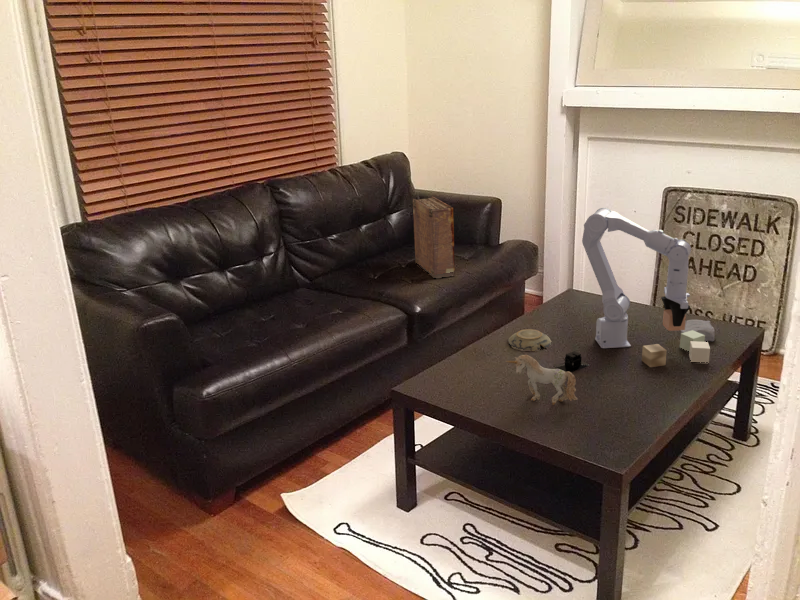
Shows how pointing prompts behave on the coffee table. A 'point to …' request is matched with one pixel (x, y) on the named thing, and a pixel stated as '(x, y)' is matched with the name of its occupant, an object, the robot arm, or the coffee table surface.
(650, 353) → the maple cube
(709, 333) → the stone block
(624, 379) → the coffee table surface
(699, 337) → the sage cube
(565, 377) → the unicorn figurine
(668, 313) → the terracotta cube
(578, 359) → the black boxy device
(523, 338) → the decorative bowl
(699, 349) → the cream cube
